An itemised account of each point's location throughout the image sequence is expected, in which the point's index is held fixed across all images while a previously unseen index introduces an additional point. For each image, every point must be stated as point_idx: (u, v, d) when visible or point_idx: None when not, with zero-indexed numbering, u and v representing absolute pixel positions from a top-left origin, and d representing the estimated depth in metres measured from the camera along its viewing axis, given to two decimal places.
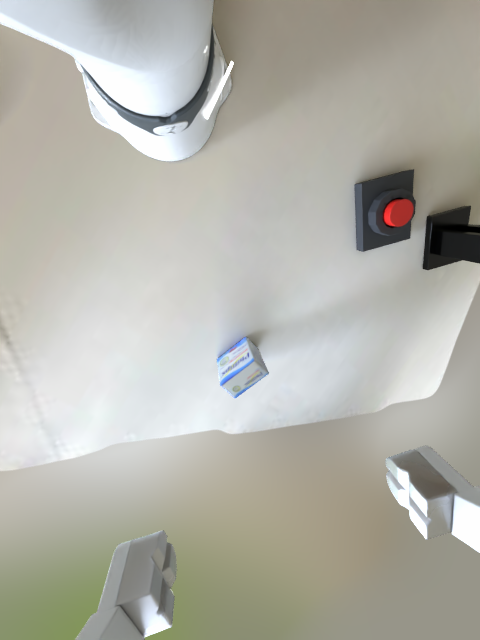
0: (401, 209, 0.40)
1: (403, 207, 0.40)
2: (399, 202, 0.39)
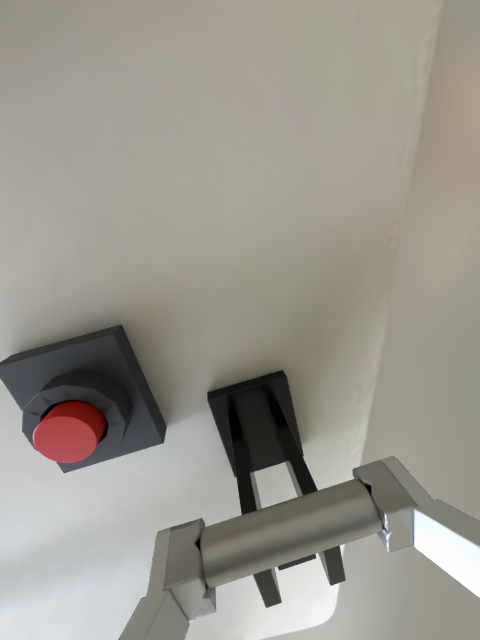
0: (59, 434, 0.17)
1: (63, 430, 0.17)
2: (46, 423, 0.17)
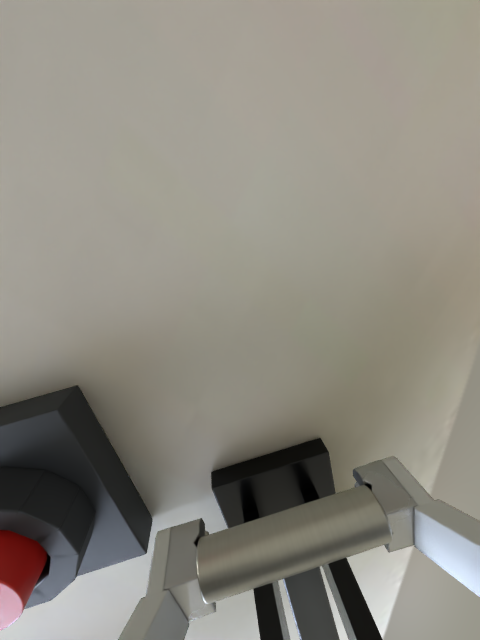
0: None
1: None
2: None
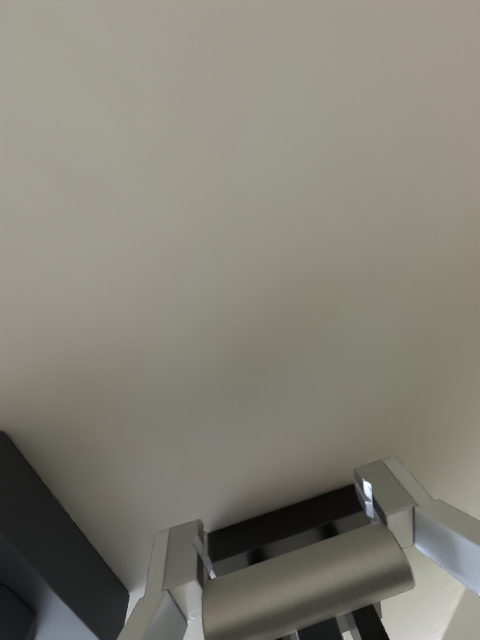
0: None
1: None
2: None
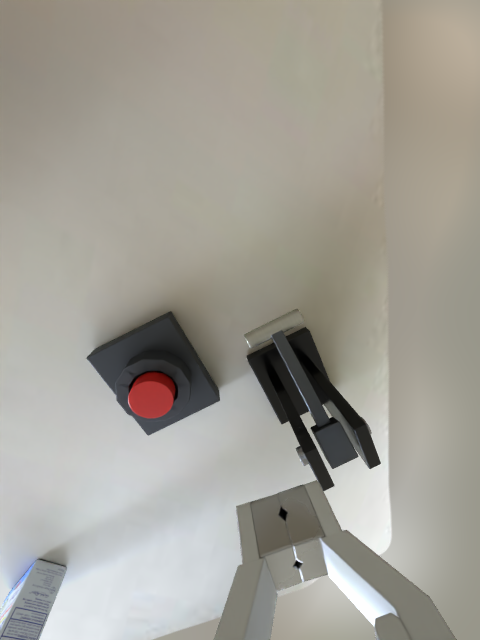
0: (146, 396, 0.23)
1: (148, 392, 0.23)
2: (136, 388, 0.23)
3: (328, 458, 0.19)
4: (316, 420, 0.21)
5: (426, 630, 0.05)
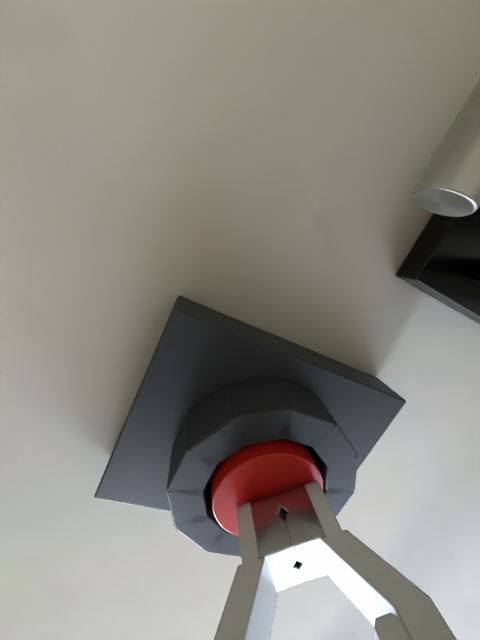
0: (253, 498, 0.09)
1: (253, 489, 0.09)
2: (220, 499, 0.09)
3: None
4: None
5: (426, 630, 0.05)
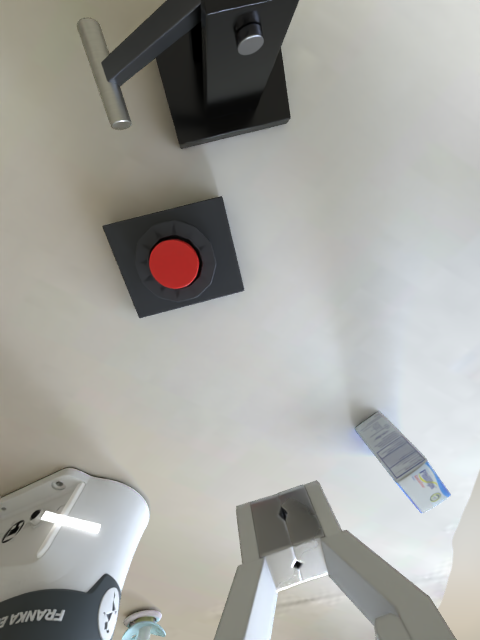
0: (167, 267, 0.21)
1: (163, 264, 0.21)
2: (156, 275, 0.21)
3: None
4: (200, 0, 0.13)
5: (426, 630, 0.05)
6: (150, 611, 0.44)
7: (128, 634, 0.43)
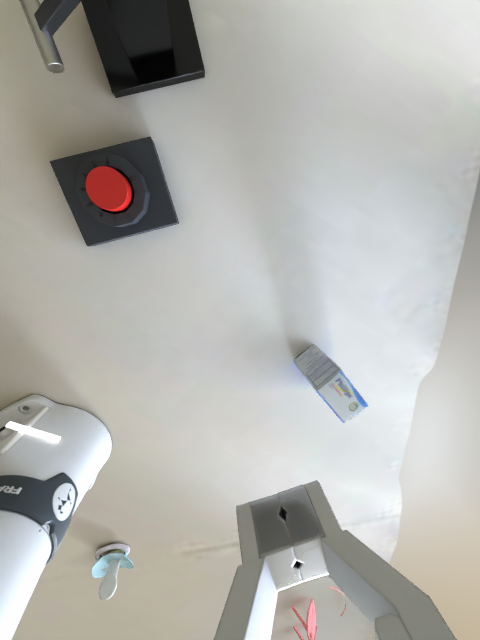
0: (101, 191, 0.26)
1: (98, 187, 0.25)
2: (92, 197, 0.26)
3: None
4: None
5: (426, 630, 0.05)
6: (119, 544, 0.48)
7: (98, 566, 0.47)
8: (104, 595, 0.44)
